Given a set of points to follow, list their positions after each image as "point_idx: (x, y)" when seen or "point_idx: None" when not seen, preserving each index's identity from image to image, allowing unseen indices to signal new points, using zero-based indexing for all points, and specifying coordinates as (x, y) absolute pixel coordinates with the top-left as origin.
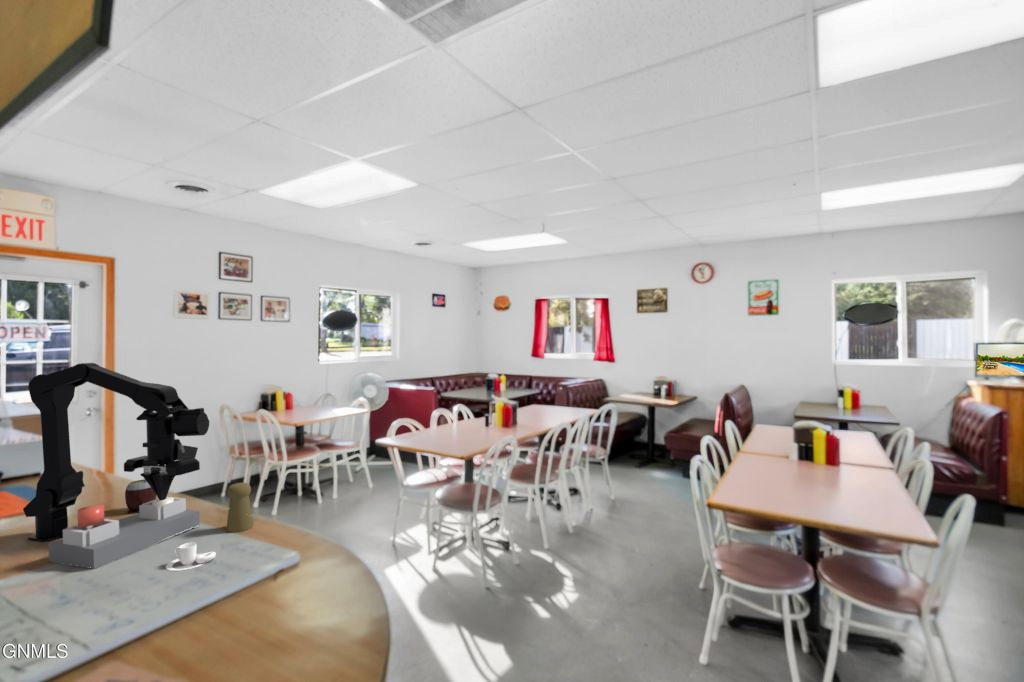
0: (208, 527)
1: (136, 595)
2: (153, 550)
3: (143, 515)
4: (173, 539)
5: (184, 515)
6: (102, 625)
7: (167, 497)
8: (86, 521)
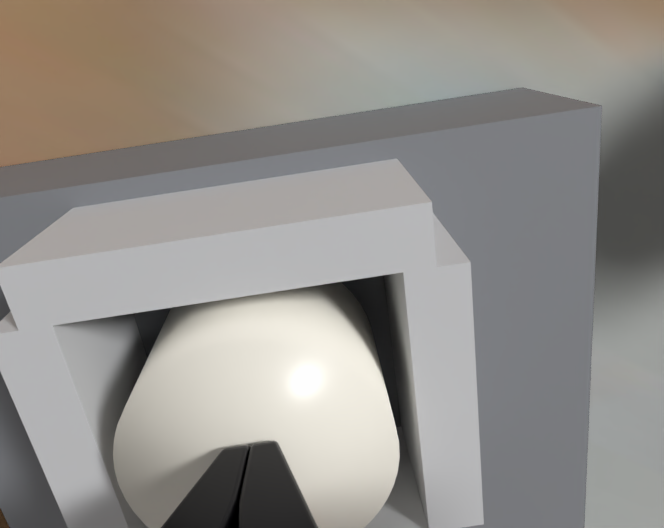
0: (628, 61)
1: None
2: (609, 487)
3: None
4: None
5: (570, 280)
6: None
7: (195, 380)
8: None
